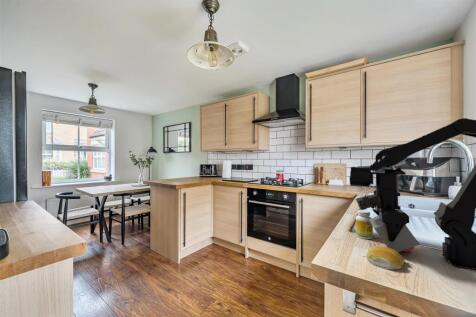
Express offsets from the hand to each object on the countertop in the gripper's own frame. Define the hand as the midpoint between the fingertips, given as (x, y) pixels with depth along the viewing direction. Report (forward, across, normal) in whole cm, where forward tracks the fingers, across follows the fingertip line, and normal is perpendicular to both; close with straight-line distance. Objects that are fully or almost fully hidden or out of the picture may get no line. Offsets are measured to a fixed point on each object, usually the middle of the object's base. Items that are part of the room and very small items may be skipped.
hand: (387, 236), depth 63 cm
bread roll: (+5, +10, -3) cm, 11 cm away
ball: (+1, 0, +4) cm, 5 cm away
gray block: (+2, 0, +4) cm, 4 cm away
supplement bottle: (+4, -9, -5) cm, 11 cm away
